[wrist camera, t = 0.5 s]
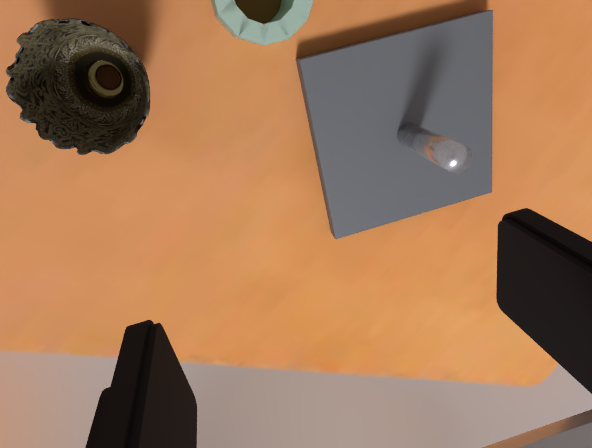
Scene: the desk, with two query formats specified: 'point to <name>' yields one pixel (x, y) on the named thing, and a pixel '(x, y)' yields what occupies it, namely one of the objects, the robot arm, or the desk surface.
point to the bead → (277, 29)
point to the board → (400, 120)
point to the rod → (435, 147)
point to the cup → (78, 86)
